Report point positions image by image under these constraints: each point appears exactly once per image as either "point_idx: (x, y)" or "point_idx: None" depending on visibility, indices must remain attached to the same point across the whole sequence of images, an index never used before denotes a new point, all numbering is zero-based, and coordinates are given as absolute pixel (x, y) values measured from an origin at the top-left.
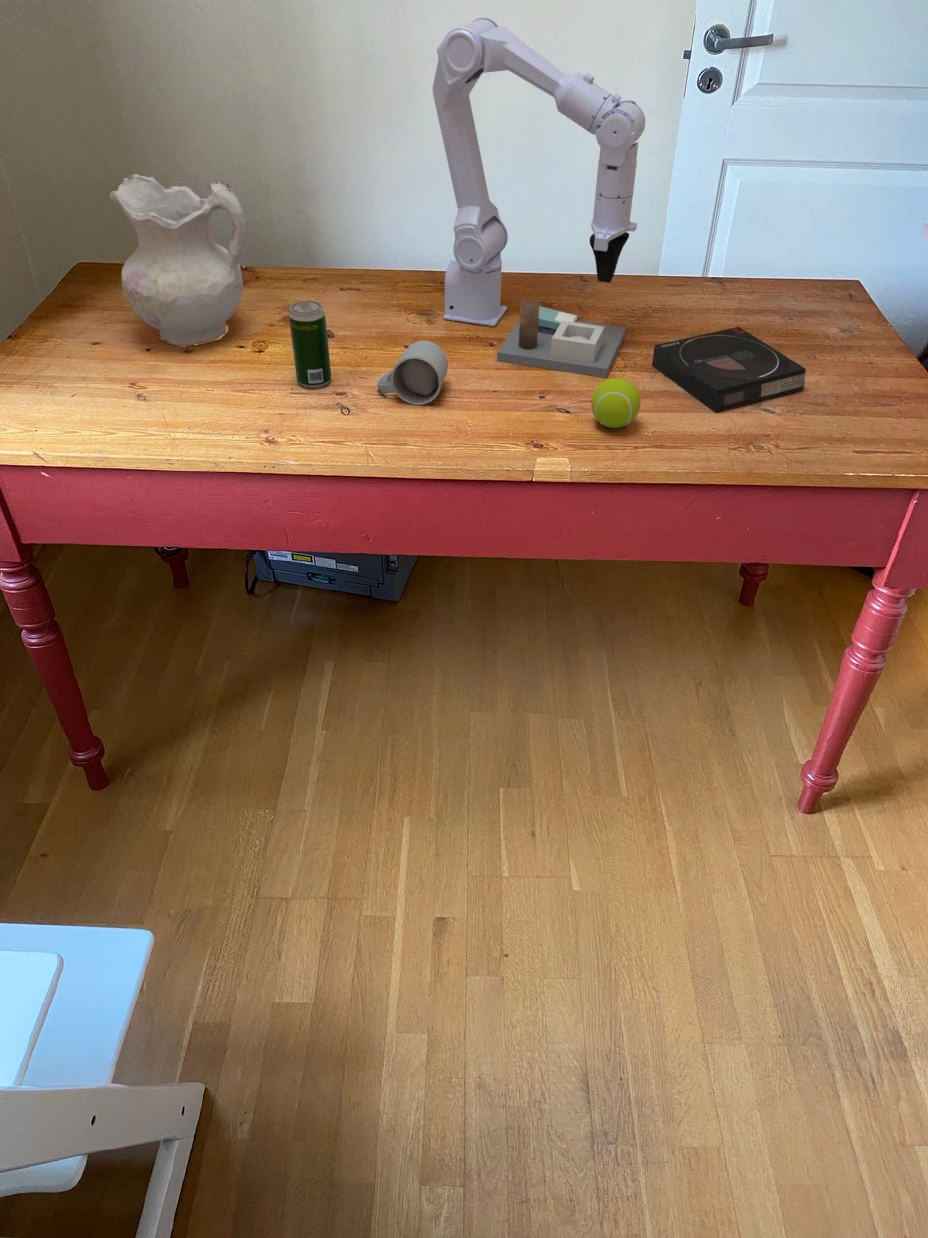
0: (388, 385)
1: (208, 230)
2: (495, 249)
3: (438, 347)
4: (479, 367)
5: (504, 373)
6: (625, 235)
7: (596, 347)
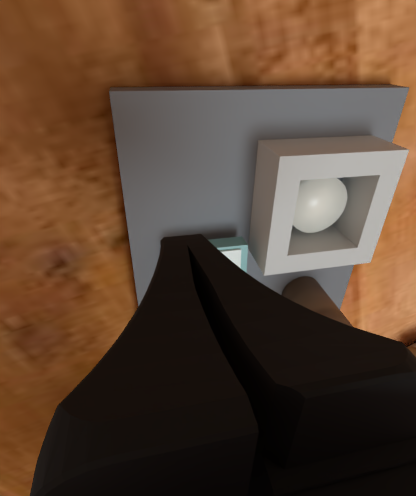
0: None
1: None
2: None
3: None
4: (351, 321)
5: (371, 283)
6: (186, 466)
7: (371, 144)
